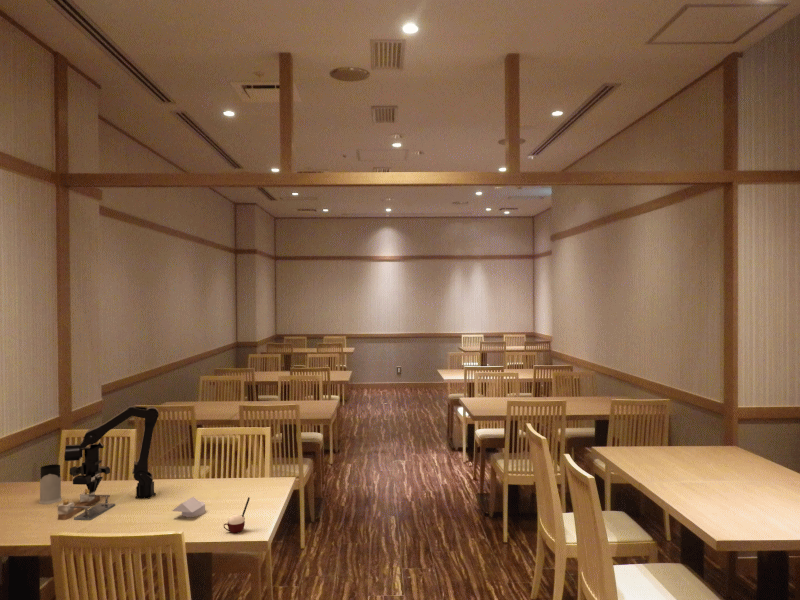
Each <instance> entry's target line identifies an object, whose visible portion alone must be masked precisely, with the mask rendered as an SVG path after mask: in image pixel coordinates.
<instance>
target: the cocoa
mask: <svg viewBox="0 0 800 600" xmlns="http://www.w3.org/2000/svg"><path fill="white" fill-rule="evenodd" d="M249 502H250V497H248V496H247V500H246V503H245V506H244V509H243V512H242V514H237V513H236V514H232V515H231V516H229V517H227V523H223V528H224V529H225V530H226V531H228V532H230V533H232V532H233V533H232V534H238V533H237V532H239V533H241V532H242V531H243V530H244V529H245V525H246V524H245V523H246V521H245V520H246V518H245V517H246V516H245V513H246V510H247V507H248V505H249ZM226 525H227V528H226V527H225V526H226ZM240 531H241V532H240Z"/></svg>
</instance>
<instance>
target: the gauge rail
mask: <svg viewBox="0 0 800 600" xmlns="http://www.w3.org/2000/svg"><path fill="white" fill-rule="evenodd" d="M100 498H101V497H95V499H93V500H91V501H89V502H80V501H79V502H78V503H77V504H75V502H69V499H62V503H60V504H58V505H57V520H59V521H60V520H61V521H62V520H63V521H65V520H68V519H70V518H71V517H73V516H75V515H76V514H79V513H80V512H82V511H84V512H85V516H87V510H88V509H90V507H91V506H93V505H94V504H97V503H98V502H99V501H101V499H100Z"/></svg>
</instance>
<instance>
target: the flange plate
mask: <svg viewBox="0 0 800 600" xmlns="http://www.w3.org/2000/svg"><path fill="white" fill-rule="evenodd" d="M115 506H116V503H114V502H113V503H111V502H108V503H105V502H101V503H96V505H94V506H93V507H91V508H88V509H87V516H85V511H84V512H82V513H80V514H78V515H76V516H75V517H74V518H73V520H74V521H92V520H93V519H96V518H97V517H98V516H101V515H102V514H104V513H105V512H107V511H109V510H111V509H112V508H114V507H115Z"/></svg>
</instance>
